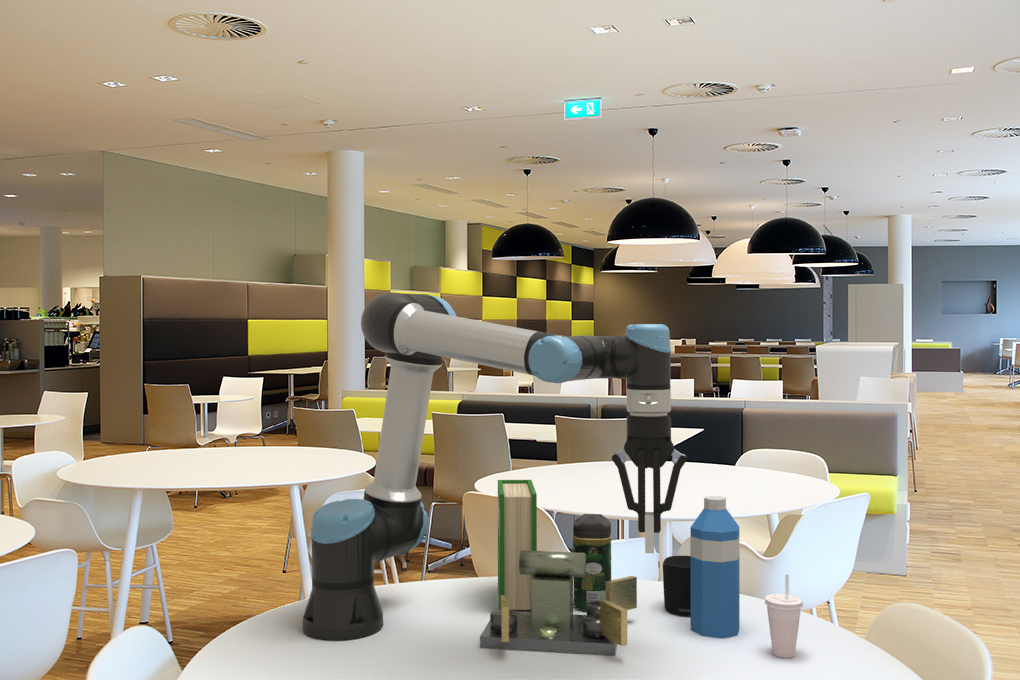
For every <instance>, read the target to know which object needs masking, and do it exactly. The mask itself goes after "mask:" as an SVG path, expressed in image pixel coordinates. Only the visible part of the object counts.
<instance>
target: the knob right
mask: <svg viewBox="0 0 1020 680" xmlns="http://www.w3.org/2000/svg"><path fill="white" fill-rule="evenodd" d="M583 634H585V635H587V636H590V637H606V638H608V639H610V640H611V641H613V642H615V643H616V644H617V645H618V646H620V647H626V646H628V610H626V609H624V608H622V607H620V606H618V605H616V604H614V603H612V602H610V601H608V600H606V599H603V600H600V614H592V615H587V616H584V617H583Z"/></svg>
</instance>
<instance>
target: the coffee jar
mask: <svg viewBox="0 0 1020 680" xmlns="http://www.w3.org/2000/svg"><path fill="white" fill-rule="evenodd" d="M572 527H573V529H572V530H573V531H572V532H573V533H572V552H577V553H585V554H586V573H585V577H573V606H574V608H576V609H577V610H581V611H586V604H587V603H589V602H593V601H600V600H603V599H606V581H610V580H612V523H611V521H610V519H608V518H607V517H606V516H604V515H603V514H600V513H583V514H582V515H581V516H578V517H576V518H575V520H574V521H573V526H572Z"/></svg>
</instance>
